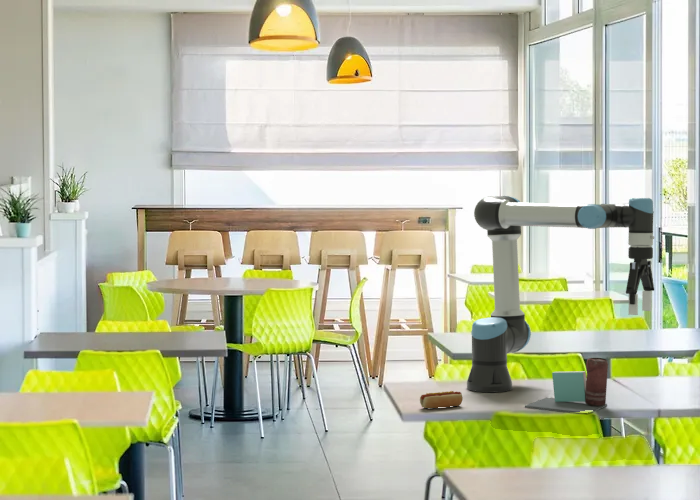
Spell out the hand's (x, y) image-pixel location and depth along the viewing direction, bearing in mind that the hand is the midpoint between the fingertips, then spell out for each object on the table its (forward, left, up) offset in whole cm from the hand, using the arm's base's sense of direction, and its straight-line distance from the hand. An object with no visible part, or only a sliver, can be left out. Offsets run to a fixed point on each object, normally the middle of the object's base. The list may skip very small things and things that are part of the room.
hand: (640, 312), depth 341 cm
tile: (-13, -24, -26) cm, 38 cm away
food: (-45, -49, -27) cm, 72 cm away
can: (-6, -24, -26) cm, 36 cm away
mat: (-13, -28, -27) cm, 41 cm away
